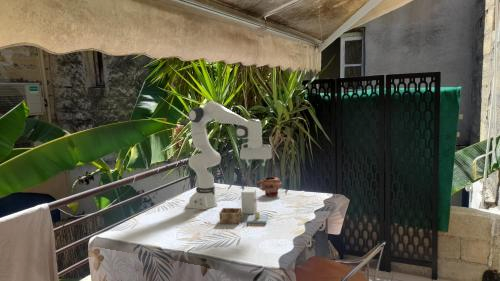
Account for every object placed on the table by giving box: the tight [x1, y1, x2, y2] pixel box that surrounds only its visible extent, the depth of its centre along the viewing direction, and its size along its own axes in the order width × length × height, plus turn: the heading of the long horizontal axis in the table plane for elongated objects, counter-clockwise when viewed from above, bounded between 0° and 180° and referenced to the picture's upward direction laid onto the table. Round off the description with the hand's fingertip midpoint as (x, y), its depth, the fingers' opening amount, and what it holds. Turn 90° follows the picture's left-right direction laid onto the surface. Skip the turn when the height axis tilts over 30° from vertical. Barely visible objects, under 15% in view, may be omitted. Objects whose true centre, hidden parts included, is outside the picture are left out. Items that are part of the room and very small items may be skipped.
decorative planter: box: [256, 176, 283, 197], centre depth 276 cm, size 20×12×14 cm, turn 94°
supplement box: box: [240, 188, 258, 215], centre depth 239 cm, size 9×9×15 cm
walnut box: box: [218, 207, 243, 225], centre depth 222 cm, size 12×10×7 cm
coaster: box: [247, 222, 267, 226], centre depth 220 cm, size 11×11×1 cm
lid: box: [246, 210, 268, 224], centre depth 220 cm, size 12×10×6 cm
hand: (256, 165), depth 225 cm, fingers open, 8 cm apart
